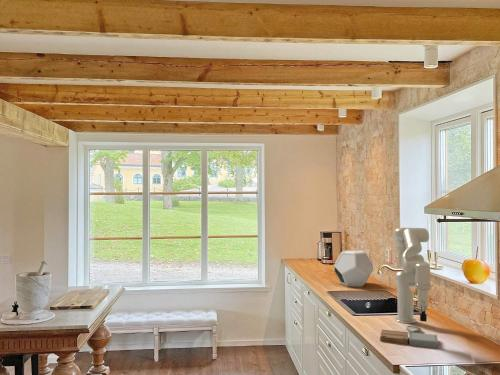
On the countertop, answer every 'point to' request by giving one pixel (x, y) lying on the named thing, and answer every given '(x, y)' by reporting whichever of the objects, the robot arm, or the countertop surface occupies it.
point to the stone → (414, 329)
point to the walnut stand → (394, 337)
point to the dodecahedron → (353, 268)
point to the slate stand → (423, 340)
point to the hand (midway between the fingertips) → (423, 320)
